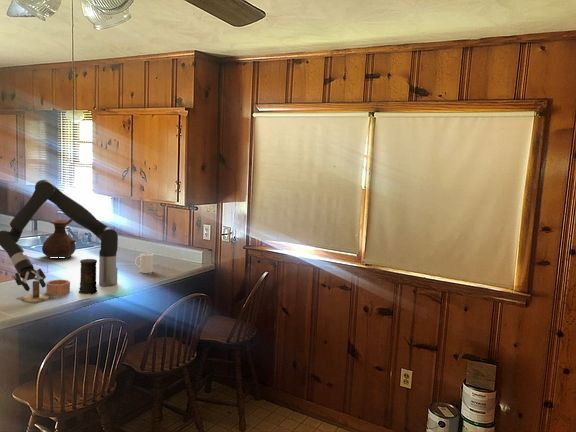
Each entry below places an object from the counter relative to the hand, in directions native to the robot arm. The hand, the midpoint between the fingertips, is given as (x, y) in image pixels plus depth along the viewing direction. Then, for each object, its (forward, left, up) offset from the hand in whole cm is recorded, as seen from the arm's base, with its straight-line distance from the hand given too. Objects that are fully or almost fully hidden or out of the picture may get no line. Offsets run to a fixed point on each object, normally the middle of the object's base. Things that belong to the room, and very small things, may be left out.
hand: (36, 288), depth 235 cm
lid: (0, 0, -5) cm, 5 cm away
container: (-24, +10, -6) cm, 26 cm away
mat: (0, 0, -6) cm, 6 cm away
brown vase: (-71, -74, -6) cm, 103 cm away
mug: (-77, 0, -6) cm, 77 cm away
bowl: (-14, -1, -6) cm, 15 cm away
